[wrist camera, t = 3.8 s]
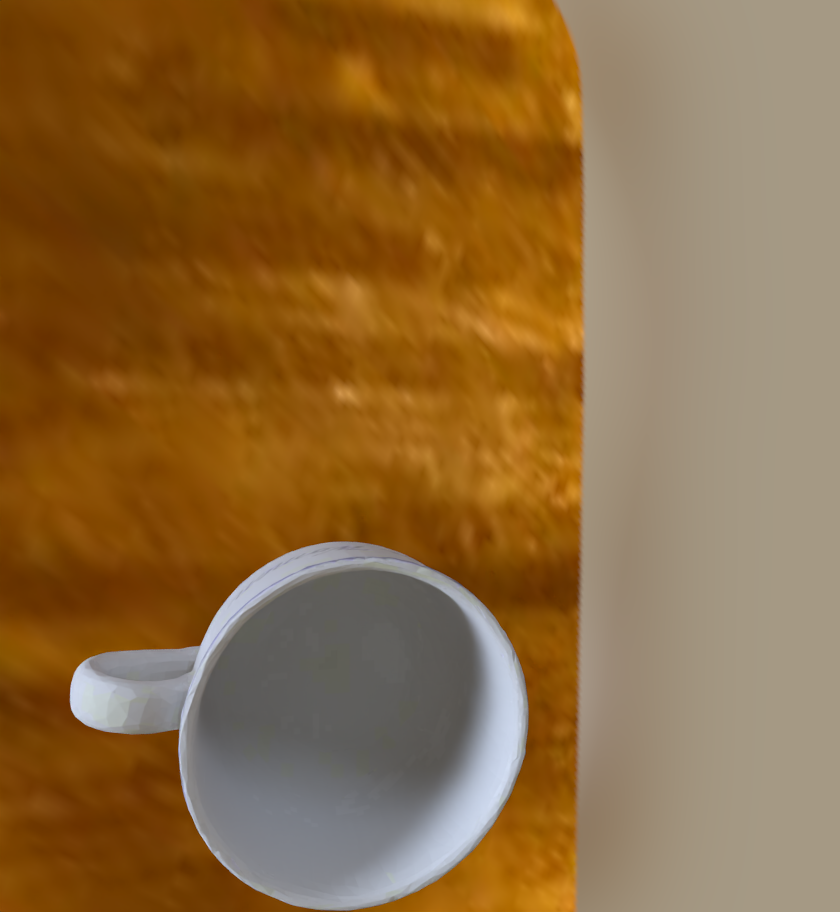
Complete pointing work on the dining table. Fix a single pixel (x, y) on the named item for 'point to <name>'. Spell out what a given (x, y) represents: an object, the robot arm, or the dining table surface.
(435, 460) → the dining table surface
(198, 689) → the teacup
